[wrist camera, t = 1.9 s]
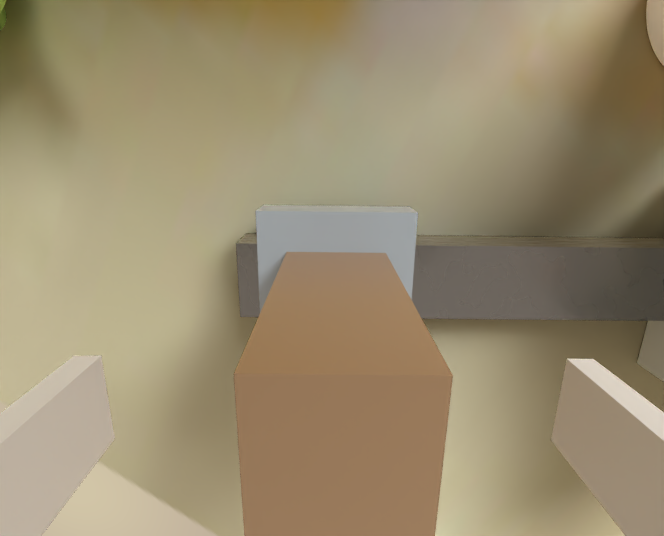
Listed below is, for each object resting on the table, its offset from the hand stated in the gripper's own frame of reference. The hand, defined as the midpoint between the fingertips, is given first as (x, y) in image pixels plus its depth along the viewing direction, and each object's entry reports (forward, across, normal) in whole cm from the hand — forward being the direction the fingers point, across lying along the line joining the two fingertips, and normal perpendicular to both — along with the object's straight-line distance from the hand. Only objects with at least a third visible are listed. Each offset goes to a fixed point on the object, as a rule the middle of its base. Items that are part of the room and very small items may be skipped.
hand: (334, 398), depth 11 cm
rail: (+12, +7, 0) cm, 14 cm away
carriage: (+11, 0, 0) cm, 11 cm away
